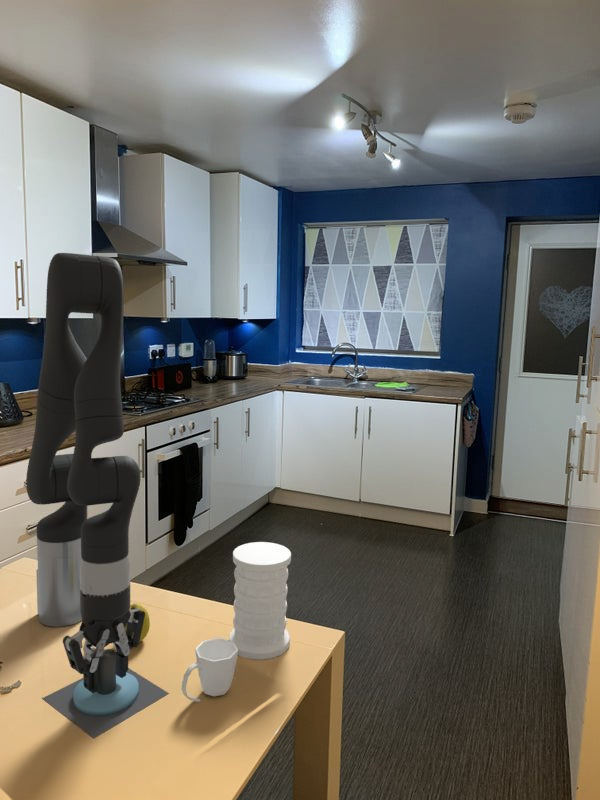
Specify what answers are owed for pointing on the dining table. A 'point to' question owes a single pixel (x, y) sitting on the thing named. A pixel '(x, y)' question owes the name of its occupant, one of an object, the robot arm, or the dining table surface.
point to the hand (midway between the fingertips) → (106, 682)
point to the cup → (213, 667)
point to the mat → (101, 724)
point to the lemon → (145, 624)
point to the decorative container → (260, 600)
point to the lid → (107, 690)
